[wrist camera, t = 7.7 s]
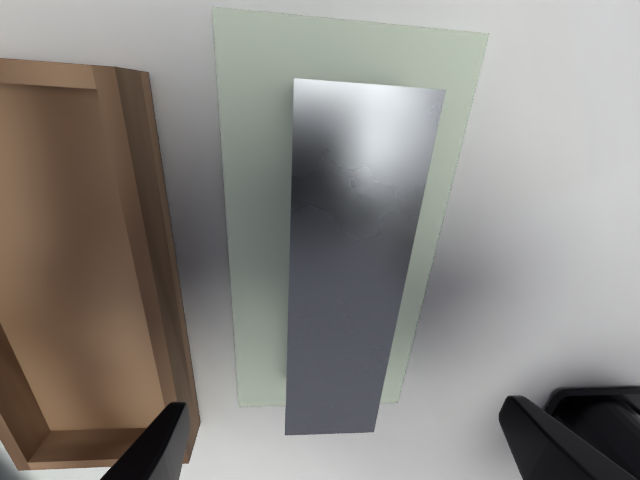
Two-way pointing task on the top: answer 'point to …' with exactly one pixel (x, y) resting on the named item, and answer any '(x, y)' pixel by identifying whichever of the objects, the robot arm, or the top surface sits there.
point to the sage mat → (276, 162)
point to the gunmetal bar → (351, 243)
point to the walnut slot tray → (85, 268)
